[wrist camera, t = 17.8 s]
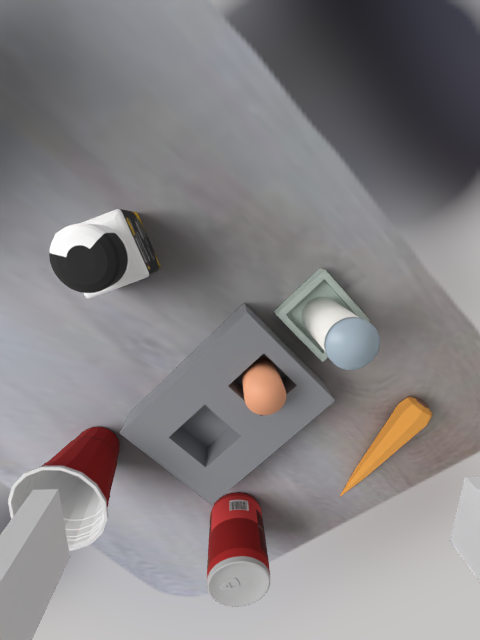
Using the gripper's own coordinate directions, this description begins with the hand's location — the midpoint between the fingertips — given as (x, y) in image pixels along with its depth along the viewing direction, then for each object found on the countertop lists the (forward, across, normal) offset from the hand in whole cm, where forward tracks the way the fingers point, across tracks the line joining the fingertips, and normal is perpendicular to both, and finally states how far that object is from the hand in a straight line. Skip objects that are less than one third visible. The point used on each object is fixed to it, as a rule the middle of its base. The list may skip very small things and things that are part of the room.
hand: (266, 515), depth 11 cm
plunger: (+31, +3, -9) cm, 32 cm away
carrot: (+33, +21, -22) cm, 45 cm away
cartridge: (+31, +11, -2) cm, 33 cm away
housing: (+32, -1, -14) cm, 35 cm away
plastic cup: (+33, -19, -21) cm, 43 cm away
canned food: (+32, 0, -34) cm, 47 cm away
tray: (+32, +11, -2) cm, 34 cm away
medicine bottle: (+33, -14, +6) cm, 36 cm away
